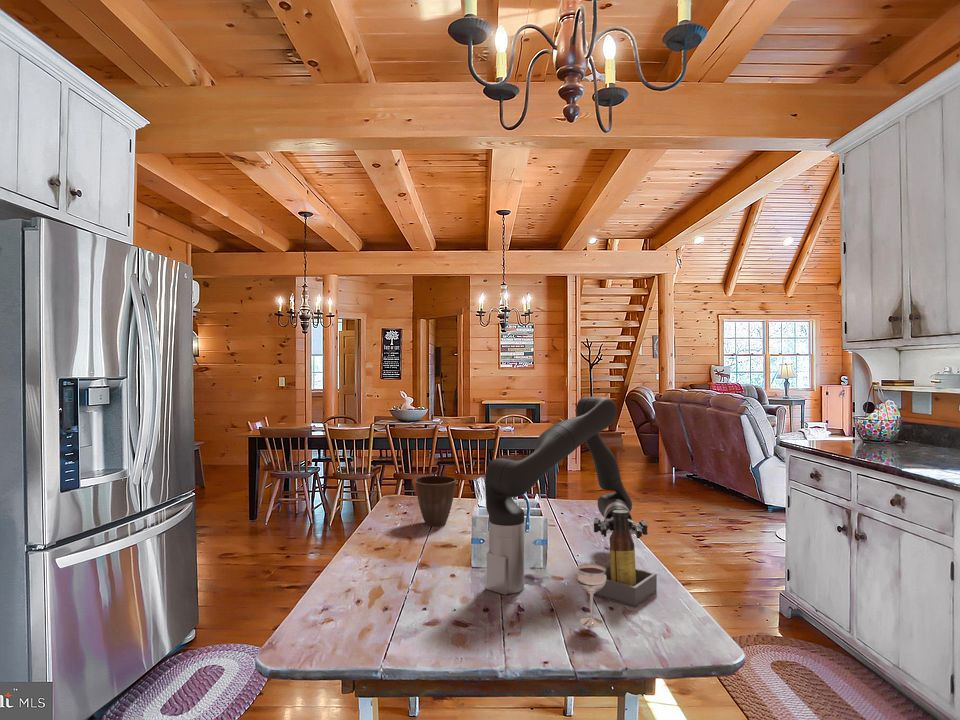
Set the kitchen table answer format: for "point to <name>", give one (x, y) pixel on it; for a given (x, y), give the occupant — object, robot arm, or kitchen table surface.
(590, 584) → the wineglass
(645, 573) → the grey shallow tray
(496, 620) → the kitchen table surface
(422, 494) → the plant pot
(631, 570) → the sauce bottle
